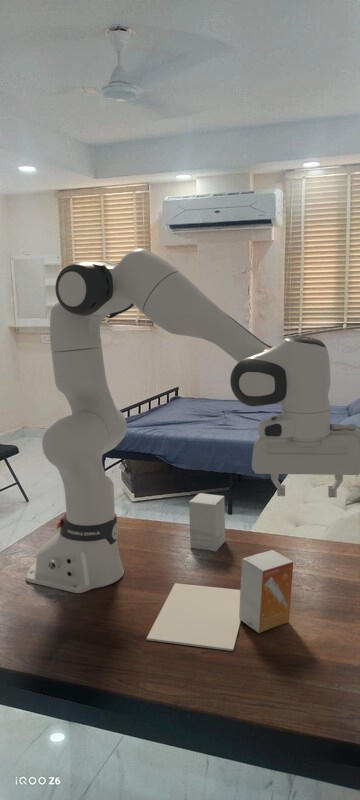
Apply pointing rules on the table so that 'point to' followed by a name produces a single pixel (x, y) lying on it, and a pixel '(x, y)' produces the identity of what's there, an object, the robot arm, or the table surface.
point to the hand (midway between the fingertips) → (306, 496)
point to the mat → (199, 617)
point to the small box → (265, 590)
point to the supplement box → (207, 521)
